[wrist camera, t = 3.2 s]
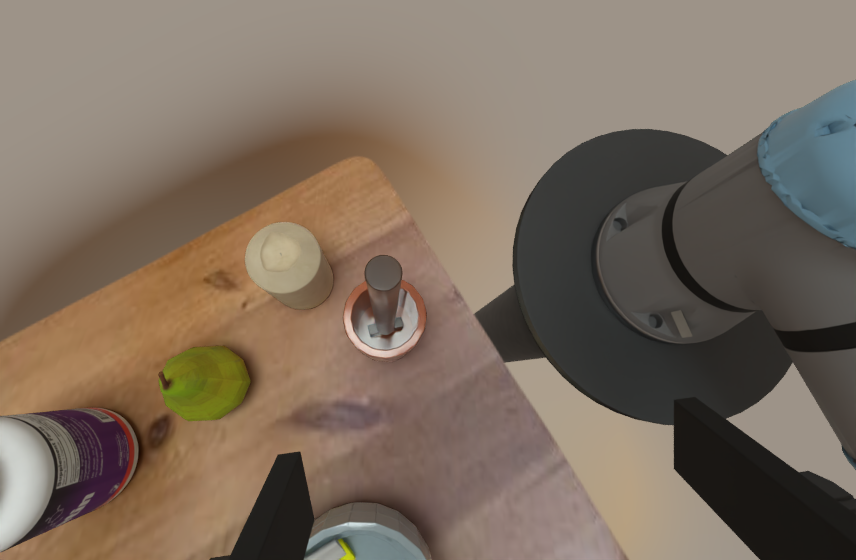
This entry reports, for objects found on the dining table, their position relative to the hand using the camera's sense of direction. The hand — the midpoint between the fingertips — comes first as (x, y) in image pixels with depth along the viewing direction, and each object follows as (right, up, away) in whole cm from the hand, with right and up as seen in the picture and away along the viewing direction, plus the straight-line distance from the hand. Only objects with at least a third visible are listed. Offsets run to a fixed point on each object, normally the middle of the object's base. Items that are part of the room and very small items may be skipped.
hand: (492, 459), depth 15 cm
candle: (-14, +6, +26) cm, 30 cm away
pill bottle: (-30, -8, +21) cm, 38 cm away
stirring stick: (-6, +2, +25) cm, 26 cm away
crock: (-6, +2, +26) cm, 26 cm away
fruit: (-20, -3, +23) cm, 31 cm away
